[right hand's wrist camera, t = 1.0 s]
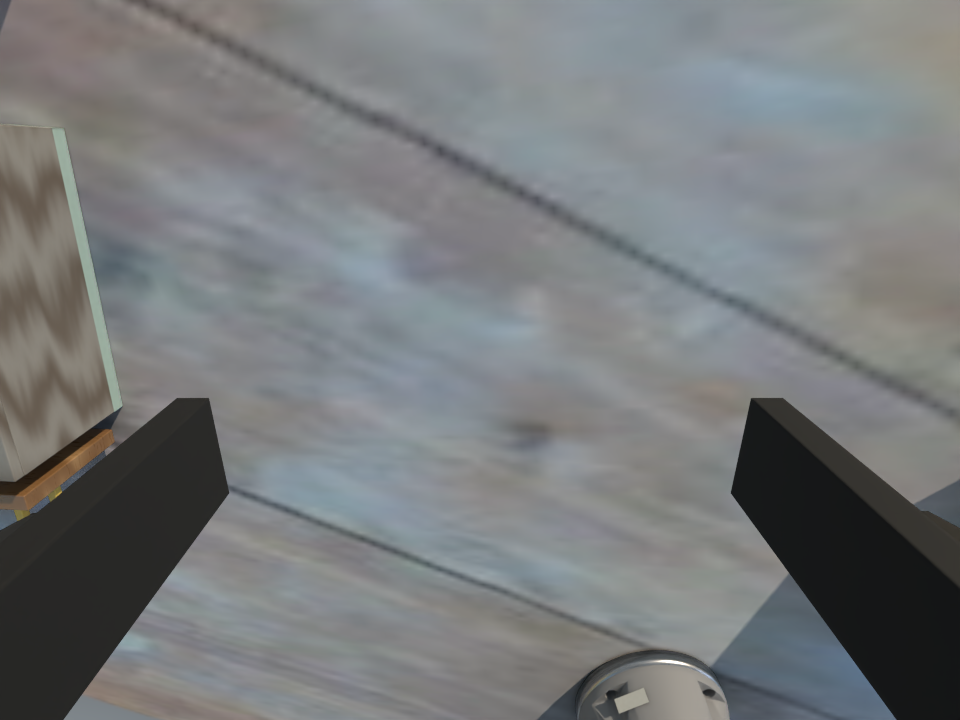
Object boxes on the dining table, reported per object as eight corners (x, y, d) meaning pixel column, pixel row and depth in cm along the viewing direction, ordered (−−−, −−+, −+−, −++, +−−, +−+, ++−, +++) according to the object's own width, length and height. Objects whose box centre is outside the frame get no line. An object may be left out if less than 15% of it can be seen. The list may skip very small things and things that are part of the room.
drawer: (127, 497, 45) (48, 574, 36) (71, 494, 44) (-21, 571, 36) (58, 190, 35) (-68, 202, 27) (-13, 185, 35) (-162, 196, 27)
